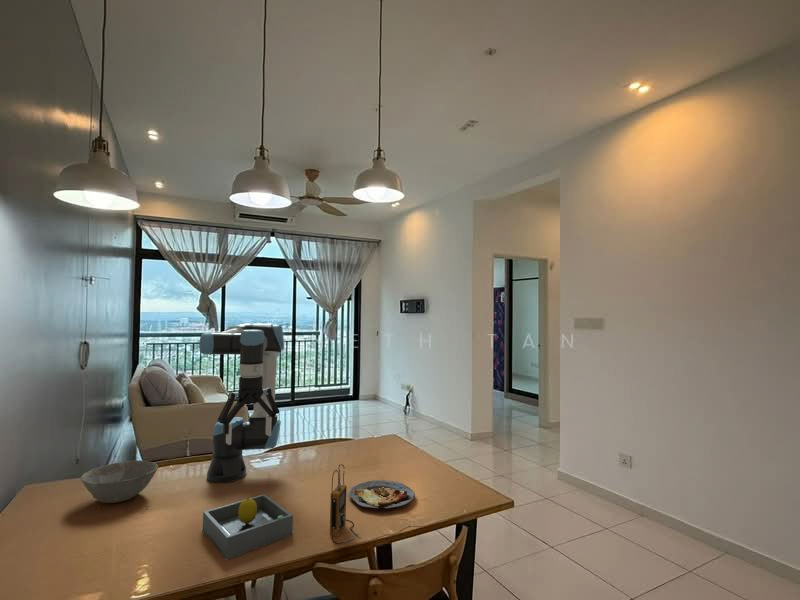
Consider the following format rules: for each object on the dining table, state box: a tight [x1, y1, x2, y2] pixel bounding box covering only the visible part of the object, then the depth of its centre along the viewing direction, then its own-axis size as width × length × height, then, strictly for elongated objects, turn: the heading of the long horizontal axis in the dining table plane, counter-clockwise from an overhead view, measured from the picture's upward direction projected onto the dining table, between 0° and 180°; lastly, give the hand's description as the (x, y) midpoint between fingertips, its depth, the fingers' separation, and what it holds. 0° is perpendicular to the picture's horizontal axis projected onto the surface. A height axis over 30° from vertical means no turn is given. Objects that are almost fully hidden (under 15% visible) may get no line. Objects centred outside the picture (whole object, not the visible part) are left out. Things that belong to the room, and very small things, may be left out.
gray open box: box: [202, 493, 294, 561], centre depth 126 cm, size 20×20×7 cm
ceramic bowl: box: [80, 459, 159, 504], centre depth 148 cm, size 22×23×10 cm
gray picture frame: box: [218, 509, 273, 535], centre depth 126 cm, size 15×15×1 cm
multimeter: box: [329, 464, 362, 545], centre depth 128 cm, size 15×10×20 cm
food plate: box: [347, 479, 416, 510], centre depth 153 cm, size 25×23×4 cm
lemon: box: [238, 497, 257, 524], centre depth 127 cm, size 6×6×8 cm
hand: (249, 439), depth 137 cm, fingers open, 13 cm apart
